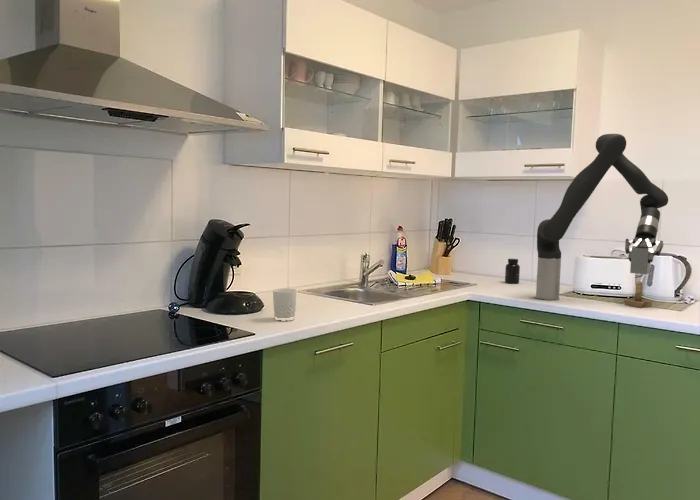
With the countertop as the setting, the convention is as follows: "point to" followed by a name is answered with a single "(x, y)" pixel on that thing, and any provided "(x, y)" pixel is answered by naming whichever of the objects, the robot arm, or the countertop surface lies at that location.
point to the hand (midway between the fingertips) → (639, 261)
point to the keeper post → (638, 298)
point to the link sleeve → (640, 260)
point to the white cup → (284, 303)
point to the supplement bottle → (512, 272)
